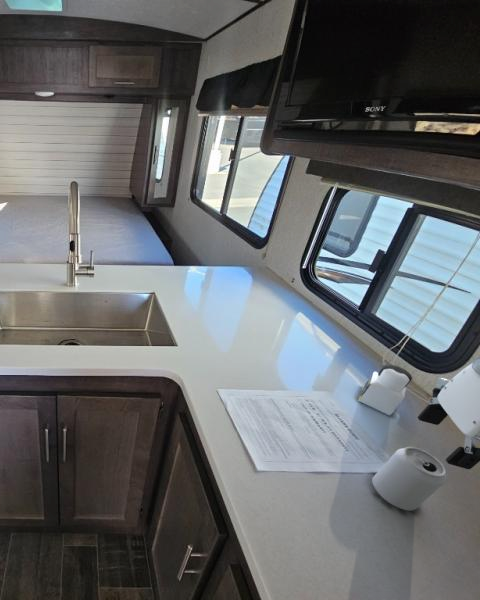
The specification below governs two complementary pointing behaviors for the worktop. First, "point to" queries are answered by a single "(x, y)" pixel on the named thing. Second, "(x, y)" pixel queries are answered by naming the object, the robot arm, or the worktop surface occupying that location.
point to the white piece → (386, 388)
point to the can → (409, 478)
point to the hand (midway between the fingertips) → (441, 441)
